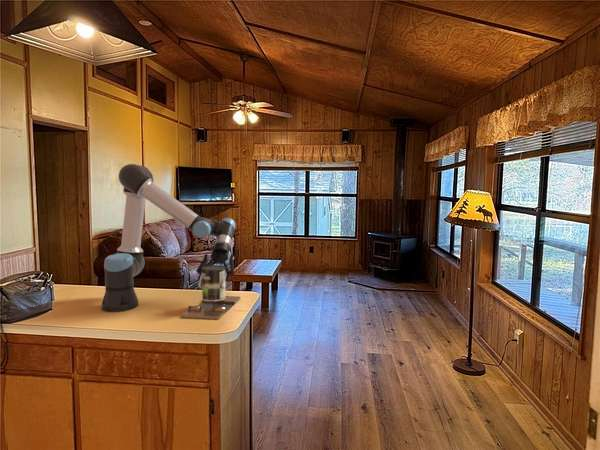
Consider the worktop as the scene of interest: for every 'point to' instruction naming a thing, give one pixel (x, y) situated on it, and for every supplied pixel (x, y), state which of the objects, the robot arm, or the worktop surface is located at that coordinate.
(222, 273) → the coffee can
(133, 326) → the worktop surface
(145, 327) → the worktop surface
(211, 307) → the hinge leaves
